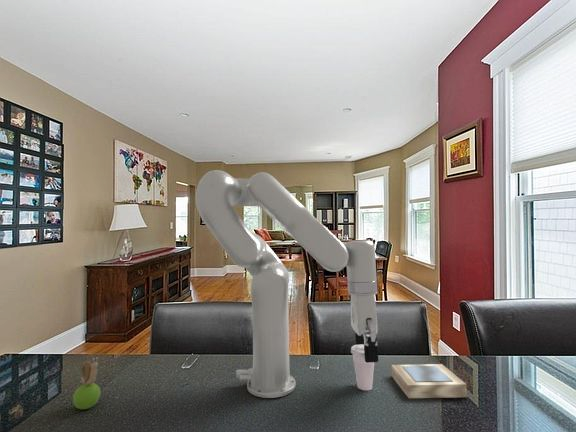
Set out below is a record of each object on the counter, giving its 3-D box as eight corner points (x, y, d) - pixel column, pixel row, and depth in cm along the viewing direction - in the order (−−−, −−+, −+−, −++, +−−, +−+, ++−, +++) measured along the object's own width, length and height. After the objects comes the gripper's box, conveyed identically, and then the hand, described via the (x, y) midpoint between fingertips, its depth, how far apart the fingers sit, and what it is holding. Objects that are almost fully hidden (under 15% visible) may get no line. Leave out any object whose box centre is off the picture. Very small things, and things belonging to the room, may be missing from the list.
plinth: (408, 398, 75) (408, 384, 75) (391, 376, 87) (391, 364, 87) (467, 397, 75) (466, 383, 75) (442, 375, 87) (441, 363, 87)
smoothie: (378, 394, 77) (376, 335, 78) (351, 392, 78) (350, 334, 79) (376, 382, 83) (374, 328, 84) (351, 380, 84) (350, 327, 85)
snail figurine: (81, 418, 68) (83, 361, 69) (67, 410, 72) (69, 356, 73) (107, 406, 73) (108, 353, 74) (92, 399, 76) (94, 349, 77)
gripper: (342, 283, 91) (345, 343, 90) (355, 294, 74) (359, 369, 72) (368, 282, 91) (372, 342, 90) (387, 292, 74) (392, 367, 73)
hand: (366, 354), depth 81 cm, fingers open, 9 cm apart
